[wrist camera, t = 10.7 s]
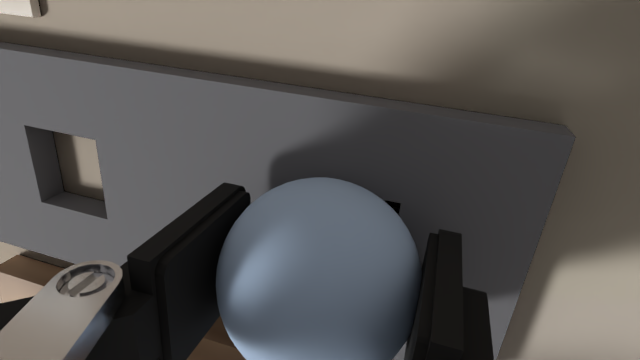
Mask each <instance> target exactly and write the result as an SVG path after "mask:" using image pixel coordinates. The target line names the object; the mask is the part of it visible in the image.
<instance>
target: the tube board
mask: <svg viewBox="0 0 640 360" xmlns="http://www.w3.org/2000/svg"><path fill="white" fill-rule="evenodd" d="M0 13H4V14H12V15H20V16H28V17H41V13H40V8H39V2H38V0H0ZM62 270H64V268H60V267H57V266H54V265H51V264H47V263H44V262H41V261H38V260H34V259H31V258H28V257H25V256H21V255H16V256H14V257H13V258H11V259H9V260H7V261H6V262H4V263H2V264H0V298H1V301H2V303H4V302H9V301H14V300H18V299H23V298H28V297H32V296H35V295H36V294H37V293H38V292H39V291H40V290H41V289H42V288H43V287H44V286H45V285H46V284H47V283H48V282H49V281H50V280H51V279H52V278H53V277H54V276H55V275H57V274H58V273H59V272H60V271H62ZM187 360H246V359H245V358H244V357H243V355H242V354H241V353H240V352H239V350H238V349H237V348H236V346H235V345H234V343H233V342H232V340H231V339H230V337H229V335H228V333H227V331H226V329H225V327H224V324H223V321H222V318H221V317H220V316H219V318H218V319H217V320H216V322H215V323H214V324H213V326H212V327H211V328H210V329H209V331H208V332H207V333H206V335H205V336H204V337H203V339H202V340H201V341H200V343H199V344H198V345H197V346H196V348H195V349H194V350H193V352H192V353H191V354H190V356H189V357H188V358H187Z"/></svg>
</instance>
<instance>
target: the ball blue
mask: <svg viewBox="0 0 640 360" xmlns="http://www.w3.org/2000/svg"><path fill="white" fill-rule="evenodd" d="M421 279H422V269H421V263H420V258H419V254H418V251H417V248H416V245H415V242H414V240H413V238H412V236H411V234H410V232H409V230H408V228H407V227H406V225H405V224H404V222H403V221H402V219H401V218H400V217H399V215H398V214H397V213H396V212H395V211H394V210H393V209H392V208H391V207H390V206H389V205H388V204H387V203H386V202H385V201H384V200H382V199H381V198H380V197H378V196H377V195H375V194H374V193H372V192H370V191H369V190H367V189H365V188H363V187H361V186H358V185H356V184H353V183H351V182H347V181H344V180H340V179H334V178H327V177H314V178H305V179H298V180H295V181H291V182H287V183H285V184H282V185H280V186H278V187H275V188H273V189H271V190H269V191H268V192H266V193H265V194H263V195H261V196H260V197H259V198H258V199H256V200H255V201H254V202H253V203H252V204H250V205H249V206H248V207H247V208H246V209H245V210H244V212H243V213H242V214H241V215H240V216H239V218H238V219H237V220H236V221H235V223H234V224H233V226H232V228H231V230H230V231H229V233H228V235H227V237H226V239H225V241H224V244H223V246H222V249H221V252H220V256H219V260H218V265H217V272H216V294H217V304H218V308H219V312H220V315H221V318H222V321H223V324H224V327H225V329H226V331H227V333H228V335H229V337H230V339H231V340H232V342H233V343H234V345H235V346H236V348H237V349H238V350H239V352H240V353H241V354H242V355H243V357H244V358H245V359H246V360H392V359H393V358H394V357H395V356H396V354H397V353H398V352H399V351H400V349H401V348H402V347H403V345H404V344H405V343H406V341H407V339H408V337H409V335H410V334H411V330H412V326H413V322H414V317H415V313H416V308H417V302H418V297H419V292H420V286H421Z"/></svg>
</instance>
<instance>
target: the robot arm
mask: <svg viewBox="0 0 640 360" xmlns="http://www.w3.org/2000/svg"><path fill="white" fill-rule="evenodd" d="M250 204H251V197H250V193H249V192H246V190H245V188H244V186H240V185H235V184H230V183H226V182H224V183H222V184H221V185H220V186H218V187H217V188H216V189H214V190H213V191H212V192H210V193H209V194H208V195H206V196H205V197H204V198H202V199H201V200H200V201H198V202H197V203H196V204H195V205H193V206H192V207H191V208H189V209H188V210H187V211H185V212H184V213H183V214H181V215H180V216H179V217H177V218H176V219H175V220H173V221H172V222H171V223H169V224H168V225H167V226H165V227H164V228H163V229H162V230H160V231H159V232H158V233H156V234H155V235H154V236H152V237H151V238H150V239H148V240H147V241H146V242H144V243H143V244H142V245H140V246H139V247H138V248H136V249H135V250H134V251H132V252H131V253H130V254H128V255H127V262H125V263H124V264H123V265H121V266H120V267H119V265H117V264H115V263H113V262H110V261H104V260H92V261H86V262H81V263H78V264H75V265H72V266H70V267H68V268H66V269H64V270H62V271H60V272H59V273H58V274H57V275H55V276H54V277H53V278H52V279H51V280H50V281H49V282H48V283H47V284H46V285H45V286H44V287H43V288H42V289H41V290H40V291H39V292H38V293H37V294H36V295H35V296H32V297H28V298H23V299H18V300H14V301H9V302H4V303H0V360H187V358H188V357H189V356H190V354H191V353H192V352H193V350H194V349H195V348H196V346H197V345H198V344H199V343H200V341H201V340H202V339H203V337H204V336H205V335H206V333H207V332H208V331H209V329H210V328H211V327H212V326H213V324H214V323H215V322H216V320H217V319H218V318H219V316H220V312H219V308H218V304H217V294H216V272H217V265H218V260H219V256H220V252H221V249H222V246H223V244H224V241H225V239H226V237H227V235H228V233H229V231H230V230H231V228H232V226H233V224H234V223H235V221H236V220H237V219H238V218H239V216H240V215H241V214H242V213H243V212H244V210H245V209H246V208H247V207H248V206H249V205H250ZM404 360H494V356H493V346H492V336H491V326H490V317H489V307H488V297H487V293H486V292H483V291H479V290H475V289H471V288H467V287H463V278H462V234H461V233H456V232H452V231H447V230H442V229H439V231H438V234H435V233H430V234H429V238H428V242H427V247H426V251H425V255H424V260H423V264H422V279H421V286H420V292H419V297H418V302H417V308H416V313H415V317H414V322H413V326H412V330H411V334H410V335H409V337H408V339H407V342H406V349H405V356H404Z"/></svg>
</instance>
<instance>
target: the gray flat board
mask: <svg viewBox="0 0 640 360" xmlns="http://www.w3.org/2000/svg"><path fill="white" fill-rule="evenodd" d="M52 131H55V132H60V133H65V134H70V135H74V136H79V137H84V138H89V139H94V140H96V146H97V153H98V159H99V166H100V173H101V179H102V186H103V192H104V199H105V202H104V201H100V200H96V199H92V198H88V197H84V196H80V195H76V194H72V193H68V192H64V189H63V184H62V179H61V174H60V169H59V164H58V159H57V153H56V148H55V143H54V138H53V133H52ZM575 138H576V137H575V136H574V134H573V133H572V132H571V131H570V130H569V129H568V128H567V127H566V126H565V125H559V124H552V123H545V122H539V121H532V120H525V119H518V118H512V117H505V116H498V115H491V114H485V113H478V112H471V111H464V110H458V109H451V108H444V107H437V106H431V105H424V104H417V103H410V102H404V101H397V100H390V99H383V98H377V97H370V96H363V95H356V94H350V93H343V92H336V91H329V90H323V89H316V88H309V87H302V86H296V85H289V84H282V83H275V82H269V81H262V80H255V79H248V78H242V77H235V76H228V75H221V74H215V73H208V72H201V71H194V70H188V69H181V68H174V67H167V66H161V65H154V64H147V63H140V62H134V61H127V60H120V59H114V58H107V57H100V56H93V55H87V54H80V53H73V52H66V51H60V50H53V49H46V48H39V47H33V46H26V45H19V44H12V43H6V42H0V241H1V242H4V243H8V244H11V245H14V246H18V247H21V248H24V249H28V250H31V251H34V252H38V253H41V254H44V255H48V256H51V257H54V258H58V259H61V260H64V261H67V262H71V263H74V264H78V263H81V262H86V261H92V260H104V261H110V262H113V263H115V264H117V265H119V267H120V266H121V265H123V264H124V263H125V262H127V255H128V254H130V253H131V252H132V251H134V250H135V249H136V248H138V247H139V246H140V245H142V244H143V243H144V242H146V241H147V240H148V239H150V238H151V237H152V236H154V235H155V234H156V233H158V232H159V231H160V230H162V229H163V228H164V227H165V226H167V225H168V224H169V223H171V222H172V221H173V220H175V219H176V218H177V217H179V216H180V215H181V214H183V213H184V212H185V211H187V210H188V209H189V208H191V207H192V206H193V205H195V204H196V203H197V202H198V201H200V200H201V199H202V198H204V197H205V196H206V195H208V194H209V193H210V192H212V191H213V190H214V189H216V188H217V187H218V186H220V185H221V184H222V183H224V182H226V183H230V184H235V185H240V186H244V188H245V190H246V192H249V193H250V197H251V204H252V203H253V202H254V201H255V200H256V199H258V198H259V197H260V196H261V195H263V194H265V193H266V192H268V191H269V190H271V189H273V188H275V187H278V186H280V185H282V184H285V183H287V182H291V181H295V180H298V179H305V178H314V177H327V178H334V179H340V180H344V181H347V182H351V183H353V184H356V185H358V186H361V187H363V188H365V189H367V190H369V191H370V192H372V193H374V194H375V195H377V196H378V197H380V198H381V199H382V200H387V201H392V202H397V203H401V206H400V211H399V217H400V218H401V219H402V221H403V222H404V224H405V225H406V227H407V228H408V230H409V232H410V234H411V236H412V238H413V240H414V242H415V245H416V248H417V251H418V254H419V258H420V263H421V269H422V264H423V260H424V255H425V251H426V247H427V242H428V238H429V234H430V233H435V234H438V231H439V229H442V230H447V231H452V232H456V233H461V234H462V278H463V287H467V288H471V289H475V290H479V291H483V292H486V293H487V297H488V307H489V317H490V326H491V336H492V346H493V356H494V360H496V359H497V356H498V354H499V351H500V348H501V345H502V342H503V340H504V337H505V334H506V331H507V328H508V326H509V323H510V320H511V317H512V314H513V312H514V309H515V306H516V303H517V300H518V297H519V295H520V292H521V289H522V286H523V283H524V281H525V278H526V275H527V272H528V269H529V267H530V264H531V261H532V258H533V255H534V253H535V250H536V247H537V244H538V241H539V239H540V236H541V233H542V230H543V227H544V225H545V222H546V219H547V216H548V213H549V211H550V208H551V205H552V202H553V199H554V197H555V194H556V191H557V188H558V185H559V183H560V180H561V177H562V174H563V171H564V169H565V166H566V163H567V160H568V157H569V155H570V152H571V149H572V146H573V143H574V141H575ZM406 342H407V341H406ZM405 349H406V343H405V344H404V345H403V347H402V348H401V349H400V351H399V352H398V353H397V354H396V356H395V357H394V358H393V359H394V360H404V356H405Z"/></svg>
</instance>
